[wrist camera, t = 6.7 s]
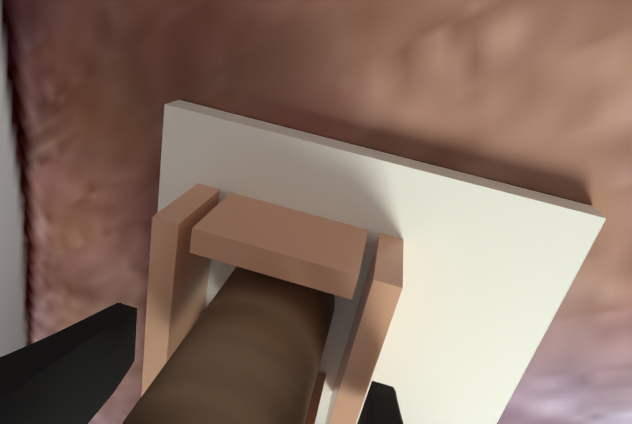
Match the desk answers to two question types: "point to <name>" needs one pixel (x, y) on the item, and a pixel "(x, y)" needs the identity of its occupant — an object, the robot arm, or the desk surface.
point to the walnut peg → (244, 357)
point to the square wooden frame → (273, 260)
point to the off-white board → (404, 253)
